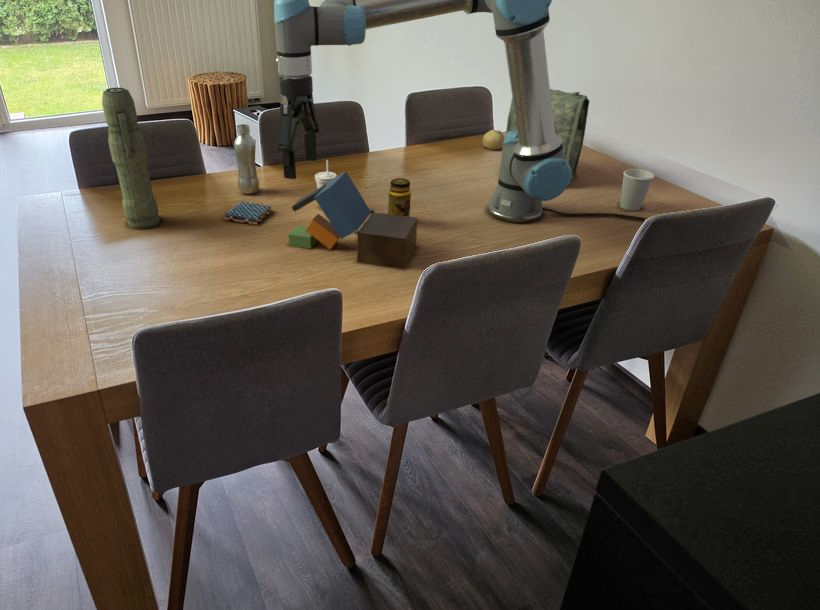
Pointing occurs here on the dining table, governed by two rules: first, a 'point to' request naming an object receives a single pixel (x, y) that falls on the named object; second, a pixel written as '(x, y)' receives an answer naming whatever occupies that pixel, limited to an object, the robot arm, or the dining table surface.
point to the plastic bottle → (246, 160)
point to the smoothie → (324, 177)
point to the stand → (386, 240)
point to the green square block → (301, 238)
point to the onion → (493, 139)
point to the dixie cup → (635, 188)
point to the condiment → (399, 197)
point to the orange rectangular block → (323, 231)
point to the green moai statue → (129, 158)
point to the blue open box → (339, 204)
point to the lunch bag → (565, 123)
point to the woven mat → (248, 213)
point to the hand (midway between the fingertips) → (301, 168)
